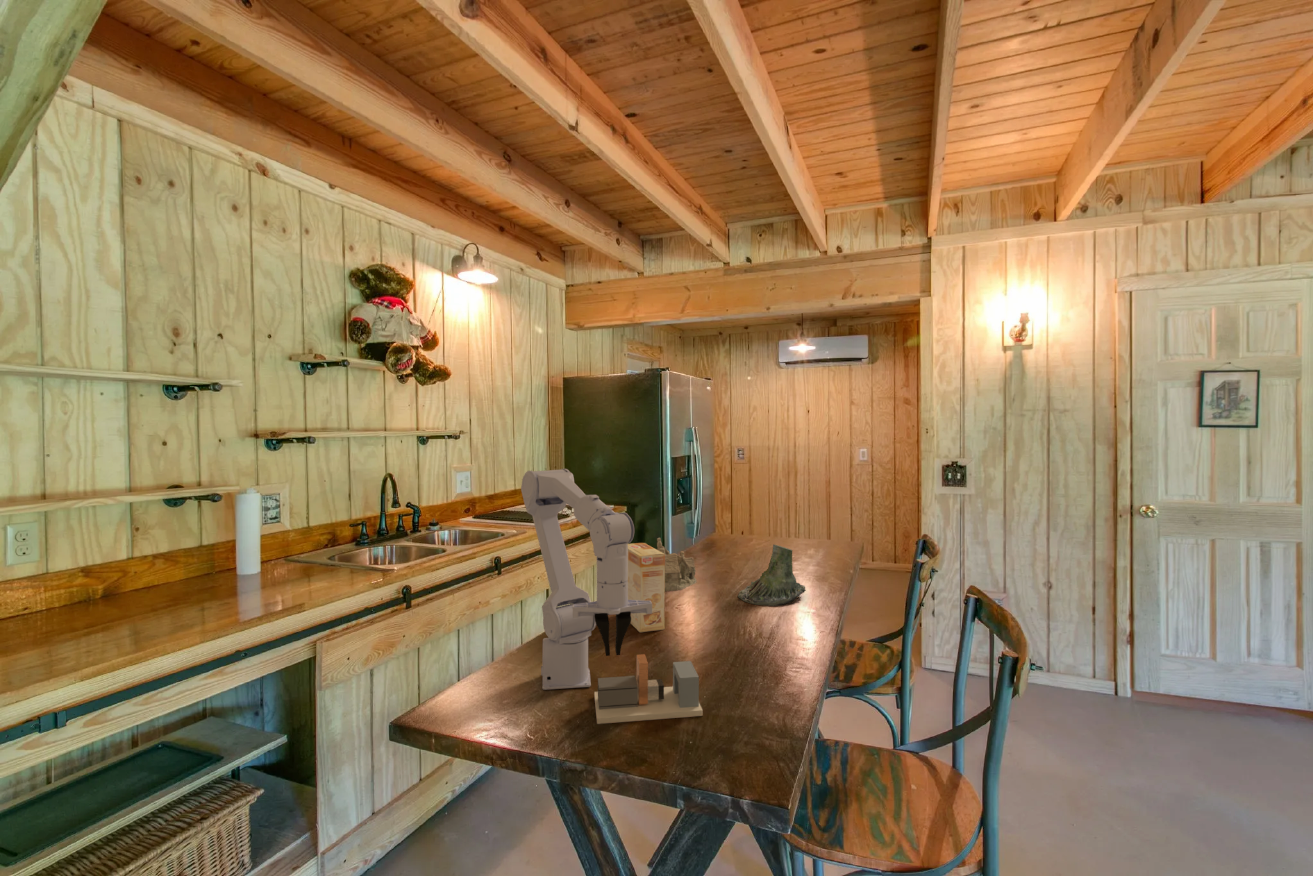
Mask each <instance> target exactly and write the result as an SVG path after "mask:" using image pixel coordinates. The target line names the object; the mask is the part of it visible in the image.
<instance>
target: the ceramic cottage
mask: <svg viewBox="0 0 1313 876" xmlns="http://www.w3.org/2000/svg"><path fill="white" fill-rule="evenodd" d="M656 541H657V542H656V547H657V548H656V550H658V551H660V552H662V553H664V554H665V592H675V591H680V590H681V591H683V590H684V589H686V588H689V587H691V586H692V585H695V584H696V583H697V582H698V581H697V578H696V577H695V575H696V572H697V571H696V565H695V560H694V558H693V557H685V552H684V551H682V550H681V551H679V555H678V554H677V553H676V552H674V553H670V551H669V550H668V549H667V548H665V546H663V543H662V539H661V537H658V538H656Z"/></svg>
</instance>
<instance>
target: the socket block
mask: <svg viewBox="0 0 1313 876" xmlns="http://www.w3.org/2000/svg"><path fill="white" fill-rule="evenodd" d="M699 683H700V676H699V674H698V673H697V671H696V669H695V667H694V665H693V662H692V661H691V660H686V661H673V662H672V687H673V691H674V694H678V704H679V707H680V708H684V707H698V706H699V703H700V700H699V699H700V698H699V696H700V685H699Z"/></svg>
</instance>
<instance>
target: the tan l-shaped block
mask: <svg viewBox="0 0 1313 876" xmlns="http://www.w3.org/2000/svg"><path fill="white" fill-rule="evenodd" d="M648 670H649V662H648V659H647V656H646V654H645V653H642V654H636V681H637V685H638V687H636V688H638V695H637V701H638V702H639V705H640V704H648V700H661V699H664V687H665V685H664V682H663V679H662V678H660V679H649V671H648ZM607 690H608V689H607Z"/></svg>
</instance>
